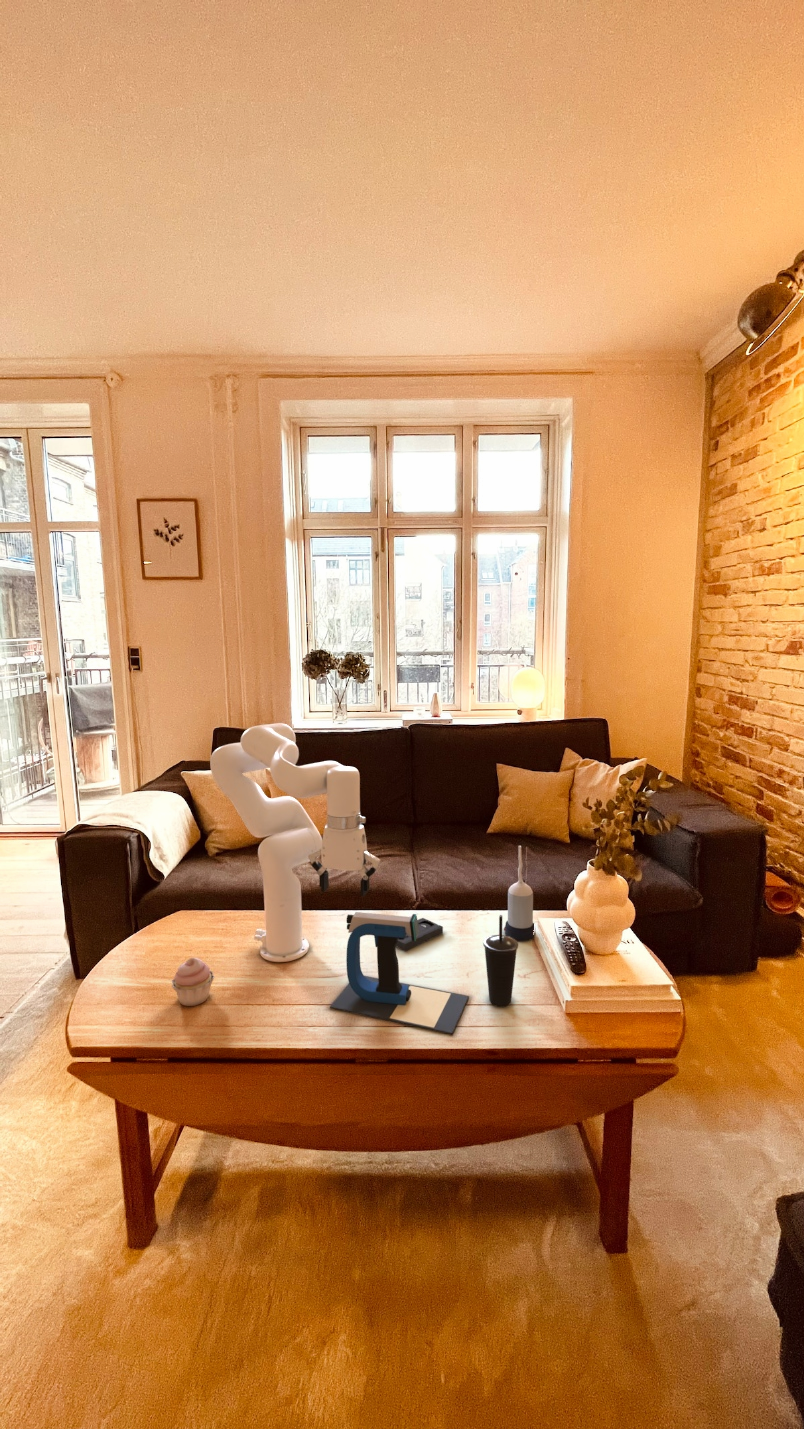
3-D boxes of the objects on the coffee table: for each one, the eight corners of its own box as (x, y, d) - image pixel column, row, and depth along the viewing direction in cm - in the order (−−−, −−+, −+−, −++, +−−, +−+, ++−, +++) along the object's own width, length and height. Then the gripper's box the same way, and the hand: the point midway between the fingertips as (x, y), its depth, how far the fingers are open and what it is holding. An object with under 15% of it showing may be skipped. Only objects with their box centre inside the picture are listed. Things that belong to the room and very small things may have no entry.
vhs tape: (422, 924, 173) (422, 917, 172) (442, 933, 167) (442, 926, 167) (385, 940, 163) (385, 933, 163) (405, 951, 157) (405, 944, 157)
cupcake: (163, 1006, 135) (160, 963, 133) (191, 984, 143) (189, 944, 142) (196, 1014, 131) (194, 971, 130) (223, 992, 140) (221, 951, 139)
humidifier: (501, 928, 169) (501, 842, 167) (529, 926, 170) (530, 840, 168) (509, 942, 161) (510, 852, 159) (539, 940, 162) (540, 850, 160)
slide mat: (329, 1008, 133) (329, 1006, 133) (356, 975, 146) (356, 974, 146) (452, 1034, 123) (452, 1032, 123) (468, 997, 136) (468, 995, 136)
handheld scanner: (416, 1007, 132) (415, 921, 130) (346, 1000, 135) (344, 916, 133) (420, 996, 136) (419, 913, 134) (351, 989, 139) (350, 907, 138)
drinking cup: (509, 1015, 130) (510, 926, 127) (477, 1004, 134) (477, 918, 131) (522, 997, 136) (523, 912, 134) (491, 987, 140) (491, 905, 138)
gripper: (384, 818, 140) (384, 889, 142) (314, 813, 144) (315, 882, 146) (375, 828, 132) (375, 902, 134) (302, 822, 136) (303, 894, 139)
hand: (344, 891), depth 140 cm, fingers open, 9 cm apart
